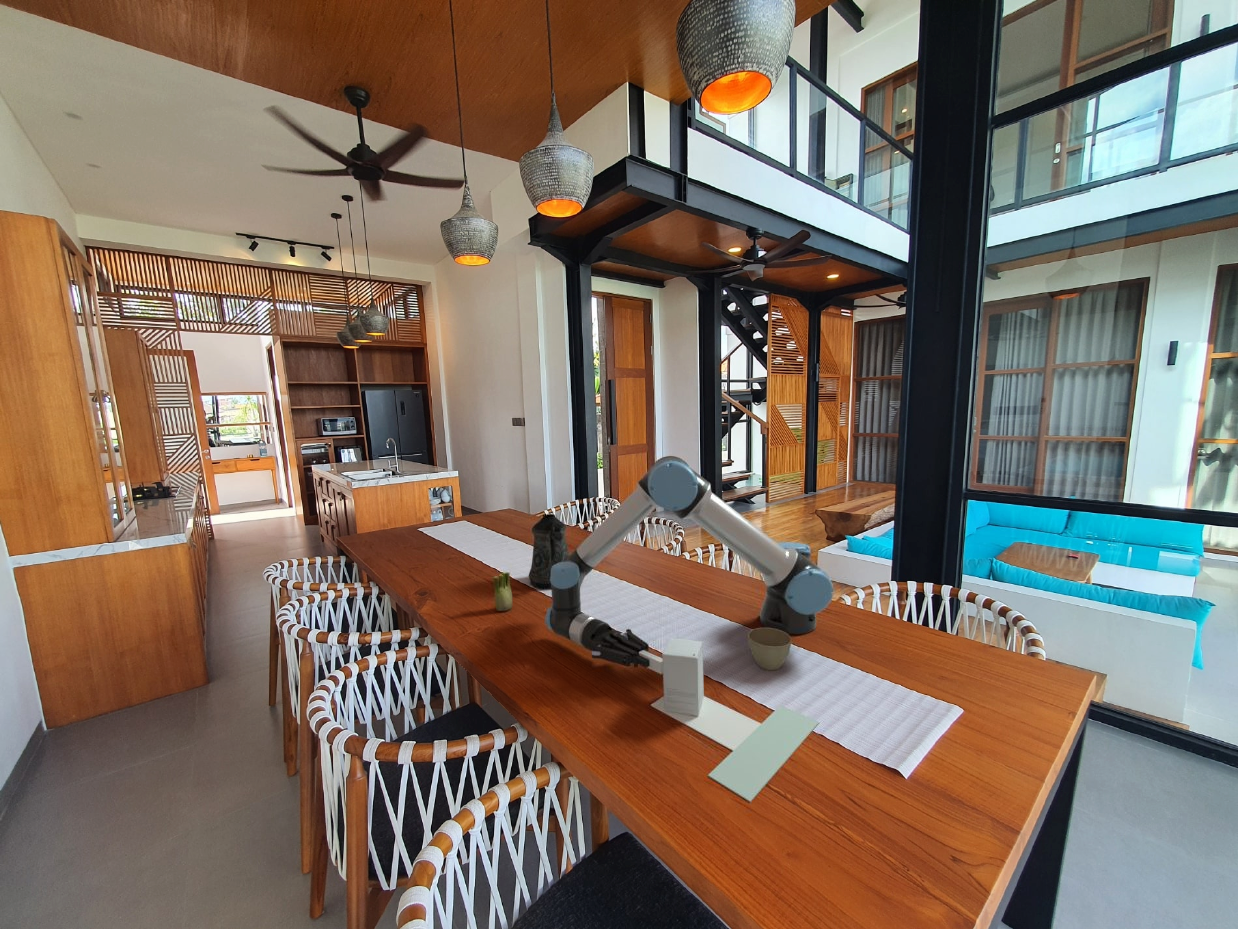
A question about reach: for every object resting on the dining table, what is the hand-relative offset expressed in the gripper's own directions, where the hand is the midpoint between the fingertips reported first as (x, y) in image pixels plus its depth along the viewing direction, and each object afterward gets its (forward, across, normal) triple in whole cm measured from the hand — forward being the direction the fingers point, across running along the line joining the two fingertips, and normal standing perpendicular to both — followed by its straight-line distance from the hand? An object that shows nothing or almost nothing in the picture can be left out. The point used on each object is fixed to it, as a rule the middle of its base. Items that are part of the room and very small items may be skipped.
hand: (663, 667), depth 104 cm
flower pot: (+11, -26, -7) cm, 29 cm away
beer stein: (-74, -26, -7) cm, 79 cm away
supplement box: (+5, 0, -6) cm, 8 cm away
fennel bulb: (-67, -1, -7) cm, 67 cm away
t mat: (+14, 0, -6) cm, 16 cm away
